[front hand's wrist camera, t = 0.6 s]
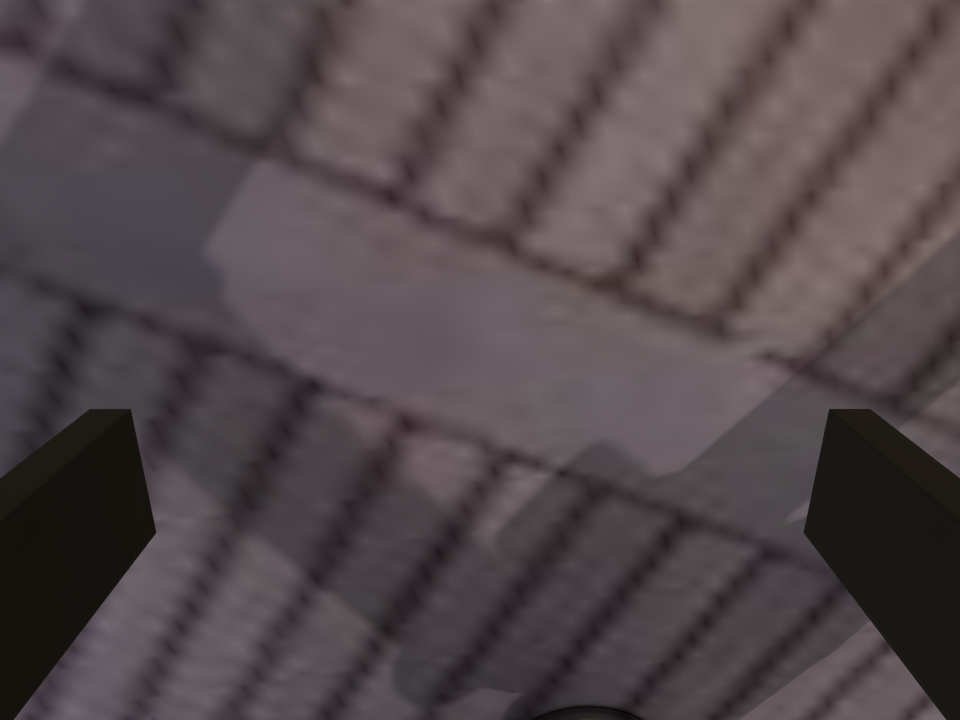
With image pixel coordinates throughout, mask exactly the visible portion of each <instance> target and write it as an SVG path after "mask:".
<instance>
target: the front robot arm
mask: <svg viewBox="0 0 960 720" xmlns="http://www.w3.org/2000/svg"><path fill="white" fill-rule="evenodd" d="M155 534H156V529H155V524H154V520H153V515H152V510H151V505H150V500H149V495H148V490H147V486H146V481H145V476H144V471H143V466H142V461H141V457H140V452H139V447H138V442H137V437H136V432H135V427H134V423H133V418H132V413H131V409H90V410H88V411H87V412H86V413H84V414H83V415H82V416H80V417H79V418H78V419H77V420H75V421H74V422H73V423H71V424H70V425H69V426H67V427H66V428H65V429H64V430H62V431H61V432H60V433H58V434H57V435H56V436H55V437H53V438H52V439H51V440H49V441H48V442H47V443H45V444H44V445H43V446H42V447H40V448H39V449H38V450H36V451H35V452H34V453H33V454H31V455H30V456H29V457H27V458H26V459H25V460H23V461H22V462H21V463H20V464H18V465H17V466H16V467H14V468H13V469H12V470H11V471H9V472H8V473H7V474H5V475H4V476H3V477H1V478H0V720H14V719H15V717H16V716H17V715H18V713H19V712H20V711H21V709H22V708H23V707H24V705H25V704H26V703H27V702H28V700H29V699H30V698H31V696H32V695H33V694H34V692H35V691H36V690H37V688H38V687H39V686H40V685H41V683H42V682H43V681H44V679H45V678H46V677H47V675H48V674H49V673H50V671H51V670H52V669H53V667H54V666H55V665H56V664H57V662H58V661H59V660H60V658H61V657H62V656H63V654H64V653H65V652H66V650H67V649H68V648H69V646H70V645H71V644H72V643H73V641H74V640H75V639H76V637H77V636H78V635H79V633H80V632H81V631H82V629H83V628H84V627H85V625H86V624H87V623H88V622H89V620H90V619H91V618H92V616H93V615H94V614H95V612H96V611H97V610H98V608H99V607H100V606H101V604H102V603H103V602H104V601H105V599H106V598H107V597H108V595H109V594H110V593H111V591H112V590H113V589H114V587H115V586H116V585H117V583H118V582H119V581H120V580H121V578H122V577H123V576H124V574H125V573H126V572H127V570H128V569H129V568H130V566H131V565H132V564H133V563H134V561H135V560H136V559H137V557H138V556H139V555H140V553H141V552H142V551H143V549H144V548H145V547H146V545H147V544H148V543H149V542H150V540H151V539H152V538H153V536H154V535H155ZM804 534H805V535H806V536H807V538H808V539H809V540H810V542H811V543H812V544H813V545H814V547H815V548H816V549H817V551H818V552H819V553H820V555H821V556H822V557H823V559H824V560H825V561H826V563H827V564H828V565H829V566H830V568H831V569H832V570H833V572H834V573H835V574H836V576H837V577H838V578H839V580H840V581H841V582H842V583H843V585H844V586H845V587H846V589H847V590H848V591H849V593H850V594H851V595H852V597H853V598H854V599H855V601H856V602H857V603H858V604H859V606H860V607H861V608H862V610H863V611H864V612H865V614H866V615H867V616H868V618H869V619H870V620H871V622H872V623H873V624H874V625H875V627H876V628H877V629H878V631H879V632H880V633H881V635H882V636H883V637H884V639H885V640H886V641H887V643H888V644H889V645H890V646H891V648H892V649H893V650H894V652H895V653H896V654H897V656H898V657H899V658H900V660H901V661H902V662H903V664H904V665H905V666H906V667H907V669H908V670H909V671H910V673H911V674H912V675H913V677H914V678H915V679H916V681H917V682H918V683H919V685H920V686H921V687H922V688H923V690H924V691H925V692H926V694H927V695H928V696H929V698H930V699H931V700H932V702H933V703H934V704H935V705H936V707H937V708H938V709H939V711H940V712H941V713H942V715H943V716H944V717H945V719H946V720H960V478H959V477H957V476H956V475H955V474H953V473H952V472H951V471H949V470H948V469H947V468H946V467H944V466H943V465H942V464H940V463H939V462H938V461H937V460H935V459H934V458H933V457H931V456H930V455H929V454H927V453H926V452H925V451H924V450H922V449H921V448H920V447H918V446H917V445H916V444H915V443H913V442H912V441H911V440H909V439H908V438H907V437H905V436H904V435H903V434H902V433H900V432H899V431H898V430H896V429H895V428H894V427H893V426H891V425H890V424H889V423H887V422H886V421H885V420H883V419H882V418H881V417H880V416H878V415H877V414H876V413H874V412H873V411H872V410H870V409H829V413H828V418H827V423H826V427H825V432H824V437H823V442H822V447H821V452H820V457H819V461H818V466H817V471H816V476H815V481H814V486H813V490H812V495H811V500H810V505H809V510H808V515H807V520H806V524H805V529H804ZM536 720H640V719H639V718H636V717H634V716H632V715H629V714H626V713H624V712H620V711H616V710H611V709H605V708H590V707H588V708H573V709H567V710H561V711H558V712H554V713H551V714H548V715H545V716H542V717H540V718H538V719H536Z"/></svg>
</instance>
